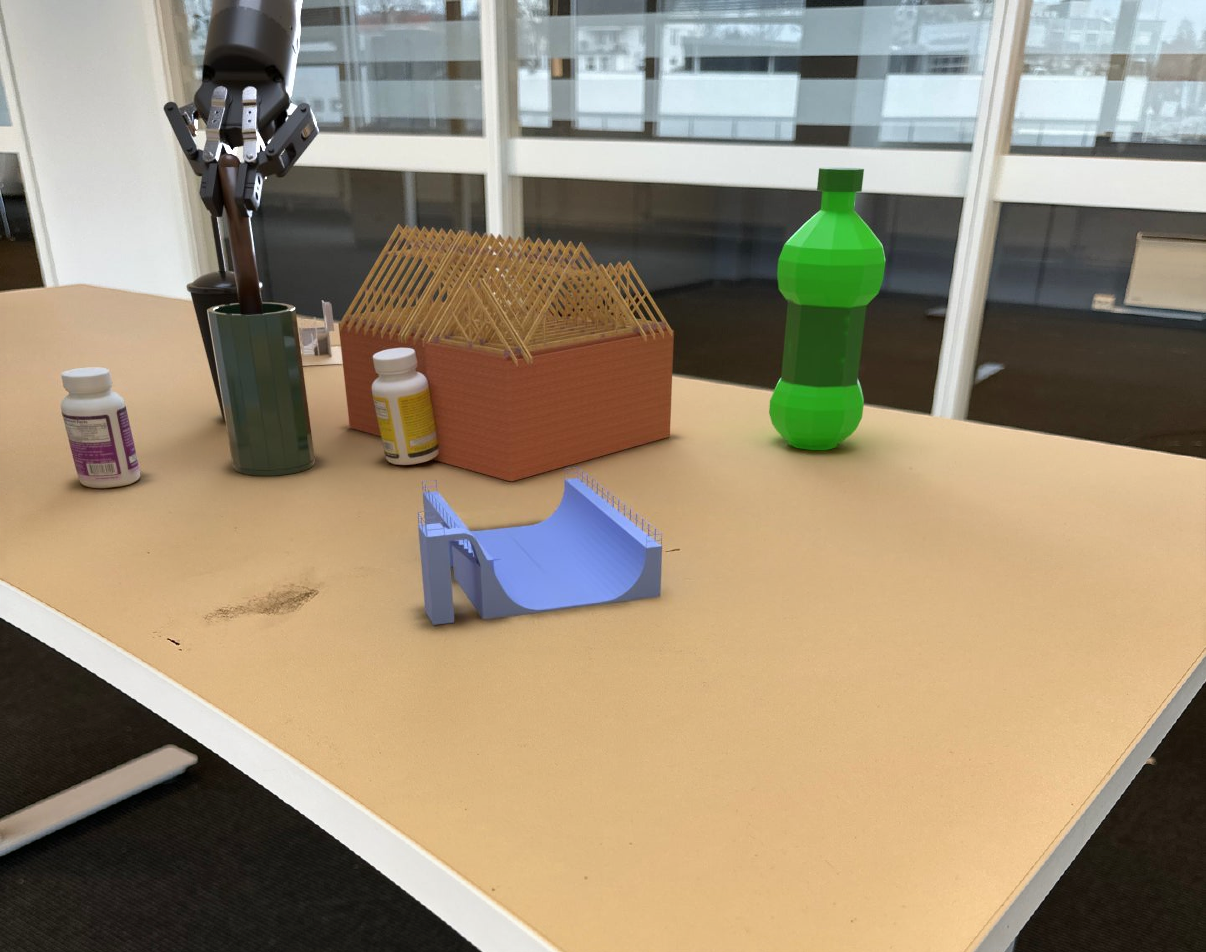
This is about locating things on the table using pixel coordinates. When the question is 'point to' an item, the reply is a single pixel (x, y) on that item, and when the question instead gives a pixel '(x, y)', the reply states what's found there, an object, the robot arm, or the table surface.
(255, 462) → the green utensil holder
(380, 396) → the supplement bottle
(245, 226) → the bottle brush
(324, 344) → the architectural model
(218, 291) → the drinking cup
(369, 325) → the house
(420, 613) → the table surface
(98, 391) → the pill bottle
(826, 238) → the plastic bottle
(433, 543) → the half pipe
